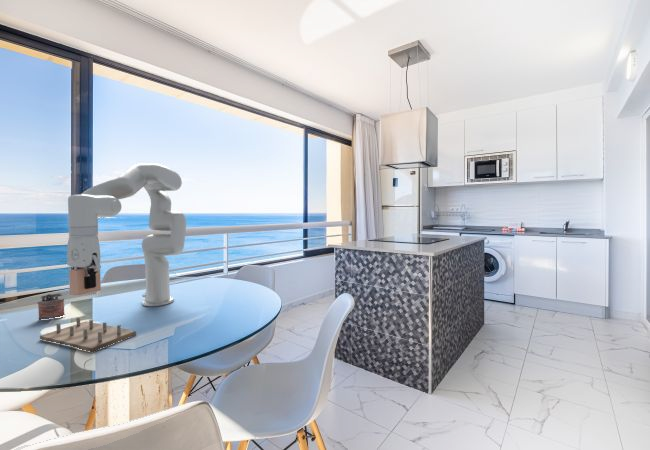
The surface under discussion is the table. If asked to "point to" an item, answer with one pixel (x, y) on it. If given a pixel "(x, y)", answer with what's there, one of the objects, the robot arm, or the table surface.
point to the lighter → (51, 306)
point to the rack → (88, 335)
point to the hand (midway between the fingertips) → (85, 286)
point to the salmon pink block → (82, 282)
